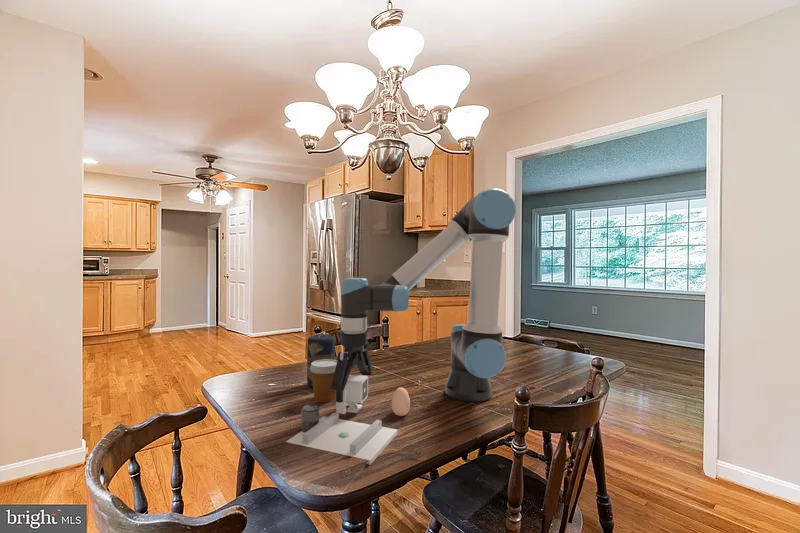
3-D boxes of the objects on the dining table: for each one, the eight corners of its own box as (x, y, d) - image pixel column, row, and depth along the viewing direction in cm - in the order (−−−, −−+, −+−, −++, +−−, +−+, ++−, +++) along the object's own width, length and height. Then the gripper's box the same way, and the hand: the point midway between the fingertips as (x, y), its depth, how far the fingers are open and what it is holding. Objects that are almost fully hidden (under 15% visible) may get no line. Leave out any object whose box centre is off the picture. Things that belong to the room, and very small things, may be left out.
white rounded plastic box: (361, 417, 106) (361, 381, 106) (337, 415, 107) (338, 380, 107) (367, 408, 112) (368, 375, 112) (345, 406, 113) (345, 373, 113)
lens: (322, 426, 97) (322, 405, 97) (312, 433, 93) (312, 411, 93) (307, 424, 99) (307, 402, 99) (297, 431, 95) (297, 408, 95)
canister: (301, 386, 131) (301, 335, 131) (317, 379, 140) (317, 330, 139) (324, 390, 127) (325, 337, 127) (339, 382, 136) (340, 332, 136)
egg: (408, 412, 109) (408, 384, 109) (411, 420, 104) (412, 390, 104) (390, 413, 109) (390, 385, 109) (392, 421, 103) (393, 391, 103)
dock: (397, 433, 96) (397, 421, 96) (370, 464, 81) (370, 451, 81) (323, 419, 104) (323, 408, 104) (285, 445, 89) (285, 433, 89)
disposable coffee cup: (325, 409, 111) (326, 368, 111) (302, 402, 116) (303, 364, 116) (346, 399, 119) (347, 361, 119) (324, 393, 124) (324, 357, 124)
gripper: (361, 323, 122) (360, 389, 123) (318, 338, 99) (317, 418, 99) (383, 325, 120) (382, 392, 120) (343, 340, 96) (342, 423, 97)
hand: (352, 404), depth 110 cm, fingers open, 13 cm apart
